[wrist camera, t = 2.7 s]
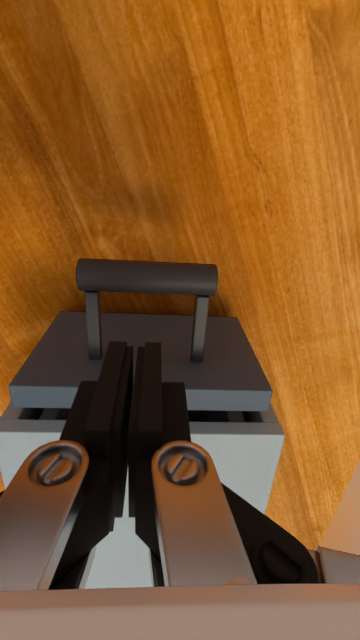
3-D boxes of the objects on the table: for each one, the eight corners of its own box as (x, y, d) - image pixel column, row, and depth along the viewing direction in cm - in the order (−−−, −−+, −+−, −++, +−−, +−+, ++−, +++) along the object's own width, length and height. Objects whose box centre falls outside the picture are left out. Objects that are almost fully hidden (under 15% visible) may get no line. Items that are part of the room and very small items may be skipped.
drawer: (51, 232, 19) (-15, 273, 12) (248, 242, 20) (296, 286, 13) (75, 463, 27) (44, 571, 20) (215, 464, 27) (234, 568, 20)
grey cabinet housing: (57, 328, 22) (-10, 432, 14) (240, 333, 23) (285, 435, 15) (73, 478, 29) (35, 615, 20) (217, 478, 29) (240, 609, 21)
